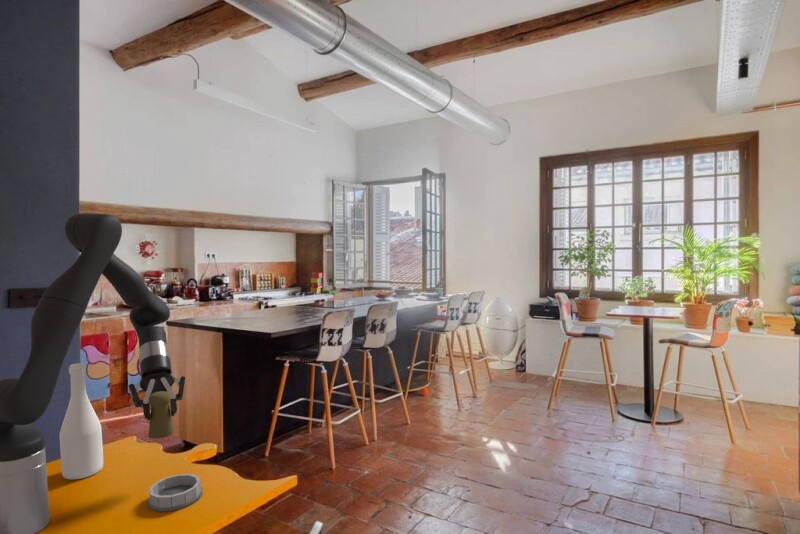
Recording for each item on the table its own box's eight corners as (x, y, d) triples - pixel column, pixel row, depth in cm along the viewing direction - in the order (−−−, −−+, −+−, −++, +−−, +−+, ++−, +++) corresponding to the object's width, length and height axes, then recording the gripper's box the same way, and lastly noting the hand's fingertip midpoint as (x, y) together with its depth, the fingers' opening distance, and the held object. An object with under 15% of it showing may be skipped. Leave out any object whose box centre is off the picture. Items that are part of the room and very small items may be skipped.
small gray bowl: (150, 518, 108) (149, 503, 107) (146, 494, 118) (145, 481, 118) (206, 501, 114) (205, 488, 114) (198, 480, 124) (197, 468, 124)
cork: (163, 439, 120) (161, 396, 120) (142, 437, 122) (140, 395, 121) (179, 430, 126) (177, 389, 126) (159, 428, 127) (157, 388, 127)
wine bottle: (108, 471, 130) (102, 364, 129) (66, 484, 123) (59, 371, 122) (98, 461, 137) (92, 358, 135) (58, 473, 130) (51, 365, 128)
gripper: (125, 357, 125) (129, 415, 116) (184, 350, 133) (192, 404, 124) (125, 372, 130) (129, 429, 121) (182, 364, 138) (190, 418, 128)
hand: (161, 416), depth 122 cm, fingers closed on cork, 5 cm apart
